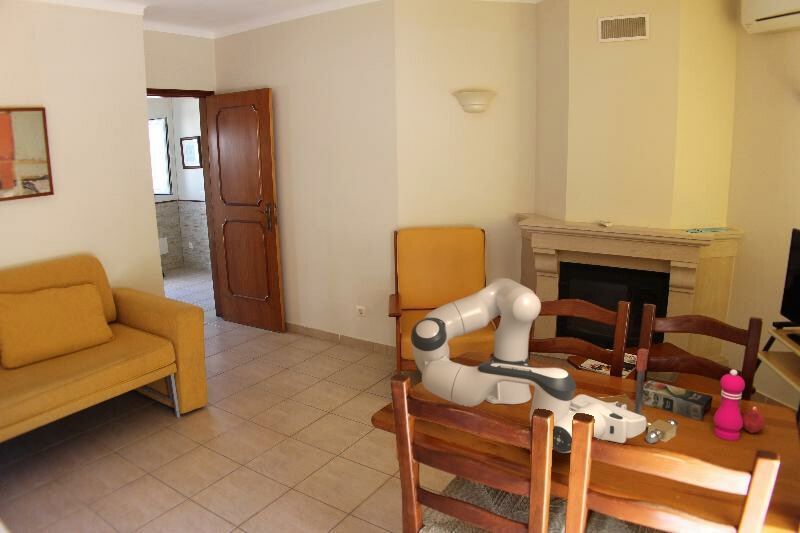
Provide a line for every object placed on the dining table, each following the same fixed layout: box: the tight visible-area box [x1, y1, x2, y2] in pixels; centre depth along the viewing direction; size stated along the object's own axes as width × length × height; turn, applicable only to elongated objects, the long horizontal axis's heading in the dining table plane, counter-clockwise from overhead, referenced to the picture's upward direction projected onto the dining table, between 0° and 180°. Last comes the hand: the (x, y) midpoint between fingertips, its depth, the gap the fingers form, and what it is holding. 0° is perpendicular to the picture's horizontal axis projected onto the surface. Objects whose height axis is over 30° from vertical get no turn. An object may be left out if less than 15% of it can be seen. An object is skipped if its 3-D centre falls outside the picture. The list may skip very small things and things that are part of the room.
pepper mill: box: [713, 369, 746, 442], centre depth 161 cm, size 7×7×20 cm
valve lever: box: [634, 347, 649, 415], centre depth 167 cm, size 2×2×23 cm
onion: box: [741, 406, 766, 434], centre depth 164 cm, size 6×6×8 cm
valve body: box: [645, 418, 679, 444], centre depth 165 cm, size 9×14×3 cm, turn 129°
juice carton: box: [642, 380, 713, 422], centre depth 181 cm, size 20×10×6 cm, turn 47°
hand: (621, 405), depth 160 cm, fingers closed
